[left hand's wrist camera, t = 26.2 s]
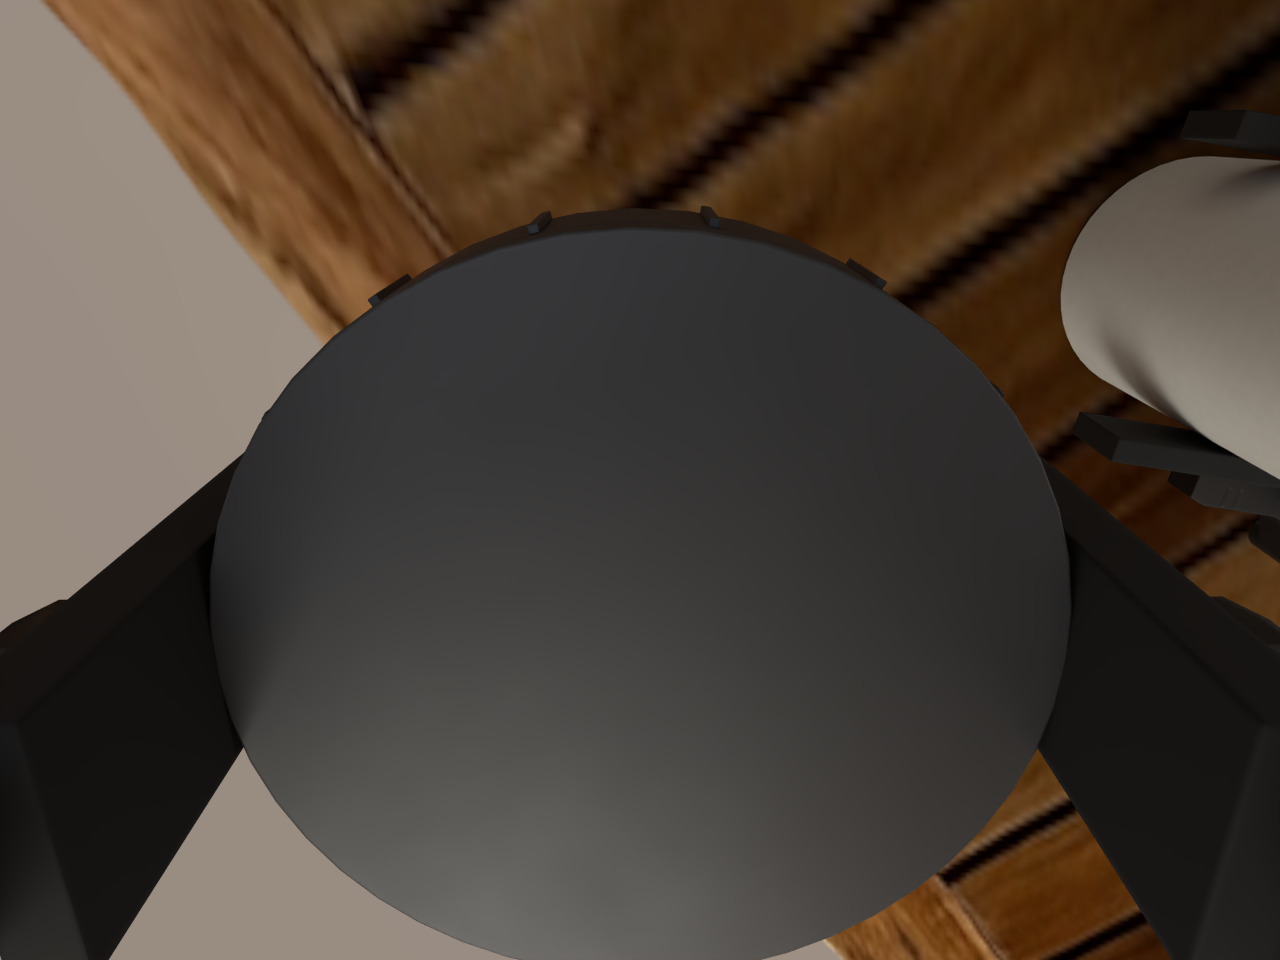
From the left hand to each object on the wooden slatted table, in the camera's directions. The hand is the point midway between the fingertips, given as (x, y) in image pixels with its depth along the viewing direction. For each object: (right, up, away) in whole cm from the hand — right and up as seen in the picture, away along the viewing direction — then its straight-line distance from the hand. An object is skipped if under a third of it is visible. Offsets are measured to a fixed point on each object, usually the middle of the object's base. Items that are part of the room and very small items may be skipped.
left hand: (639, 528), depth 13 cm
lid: (0, -1, -3) cm, 3 cm away
